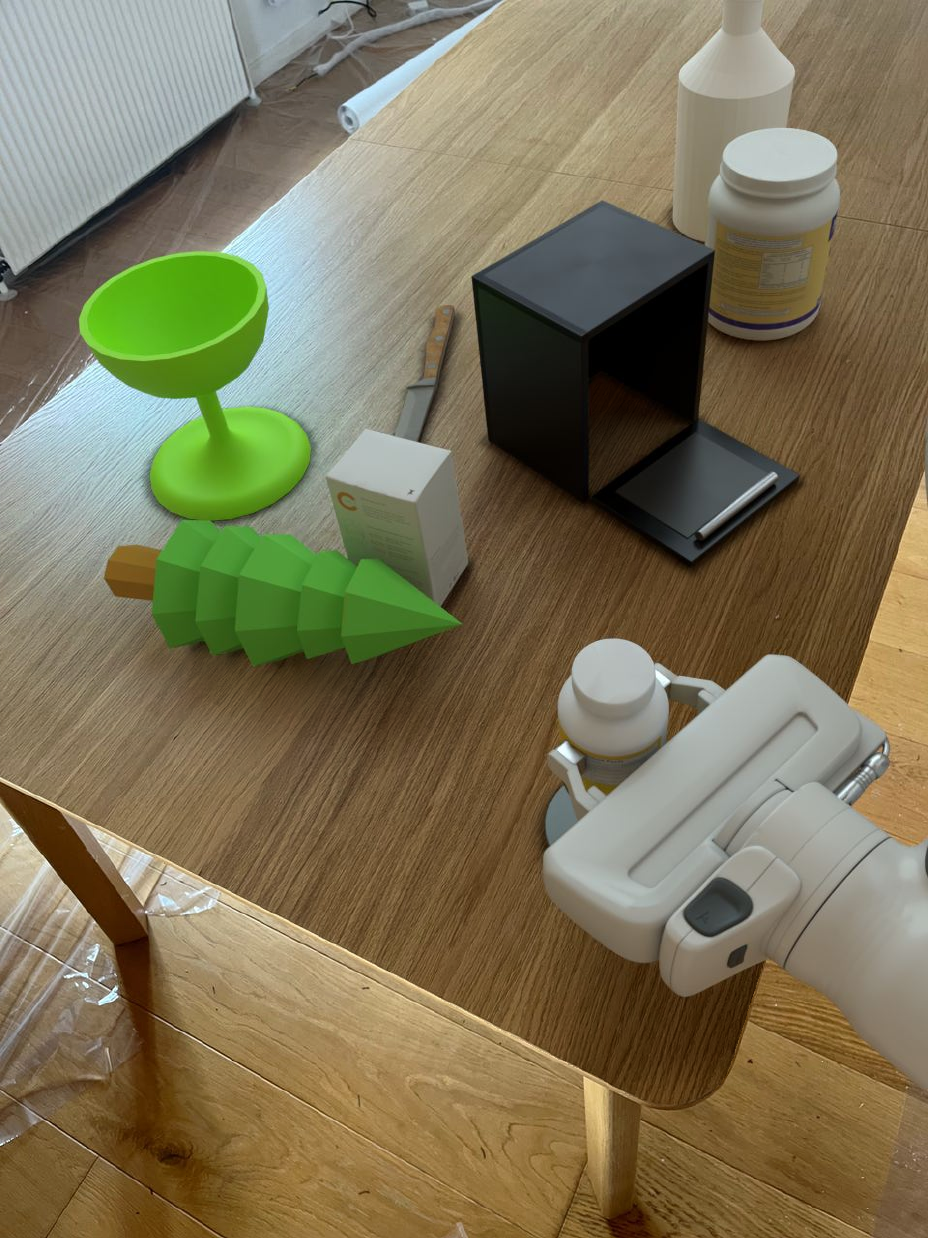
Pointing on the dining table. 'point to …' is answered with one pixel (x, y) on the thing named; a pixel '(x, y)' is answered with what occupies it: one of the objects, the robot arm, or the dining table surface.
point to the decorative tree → (271, 595)
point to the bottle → (725, 105)
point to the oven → (616, 374)
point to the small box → (401, 510)
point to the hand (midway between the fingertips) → (601, 713)
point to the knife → (426, 378)
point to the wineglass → (198, 378)
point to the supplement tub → (771, 232)
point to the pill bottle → (613, 711)
